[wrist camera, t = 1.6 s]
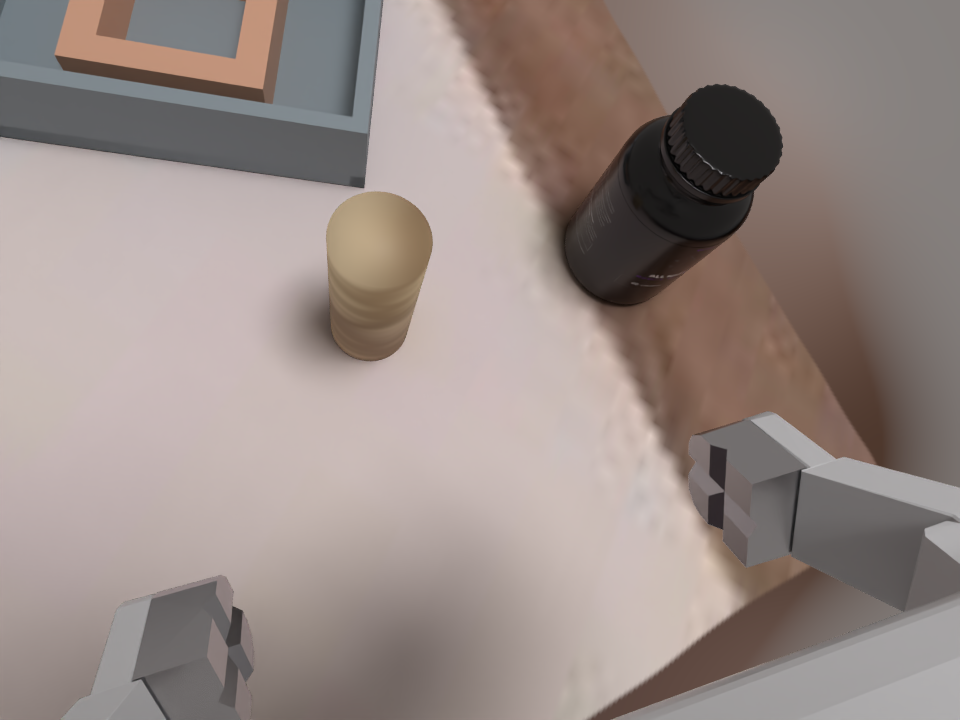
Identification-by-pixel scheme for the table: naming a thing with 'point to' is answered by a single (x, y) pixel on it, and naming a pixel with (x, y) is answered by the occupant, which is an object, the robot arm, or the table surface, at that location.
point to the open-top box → (196, 81)
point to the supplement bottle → (673, 194)
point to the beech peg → (375, 272)
